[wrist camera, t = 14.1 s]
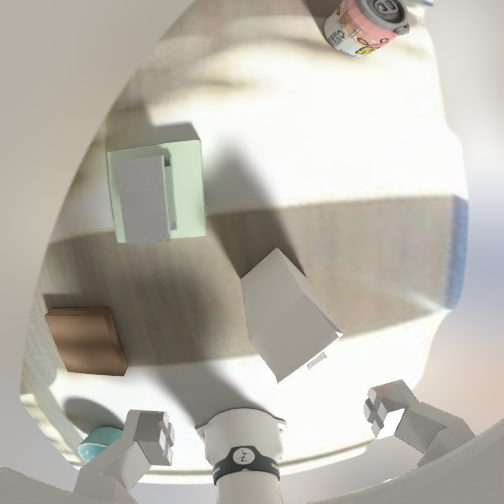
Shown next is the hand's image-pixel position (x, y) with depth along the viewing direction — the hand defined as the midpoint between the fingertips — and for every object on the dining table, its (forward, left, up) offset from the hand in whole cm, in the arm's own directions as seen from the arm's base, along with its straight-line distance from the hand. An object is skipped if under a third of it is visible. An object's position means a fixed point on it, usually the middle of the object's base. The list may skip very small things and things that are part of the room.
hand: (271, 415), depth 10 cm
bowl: (-47, +32, -31) cm, 65 cm away
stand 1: (-17, +27, -31) cm, 45 cm away
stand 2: (+6, +10, -31) cm, 33 cm away
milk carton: (-8, -5, -31) cm, 33 cm away
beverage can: (+29, -18, -31) cm, 46 cm away
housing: (+6, +10, -28) cm, 30 cm away
